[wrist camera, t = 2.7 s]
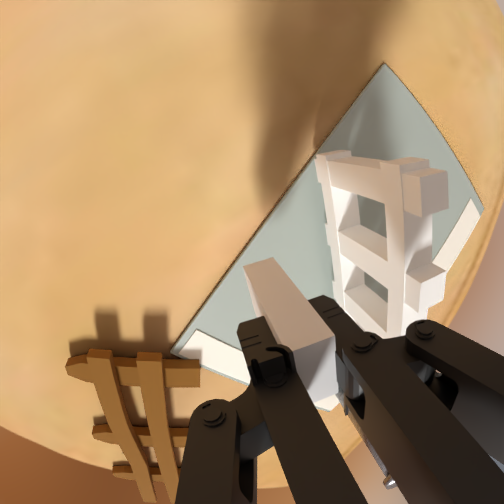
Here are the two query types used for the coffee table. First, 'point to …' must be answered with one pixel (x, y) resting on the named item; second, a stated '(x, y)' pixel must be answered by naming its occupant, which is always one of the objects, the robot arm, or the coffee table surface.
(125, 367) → the decorative fence
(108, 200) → the coffee table surface
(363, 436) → the corner post
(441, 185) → the fence panel
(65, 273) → the coffee table surface
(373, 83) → the board
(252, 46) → the coffee table surface
